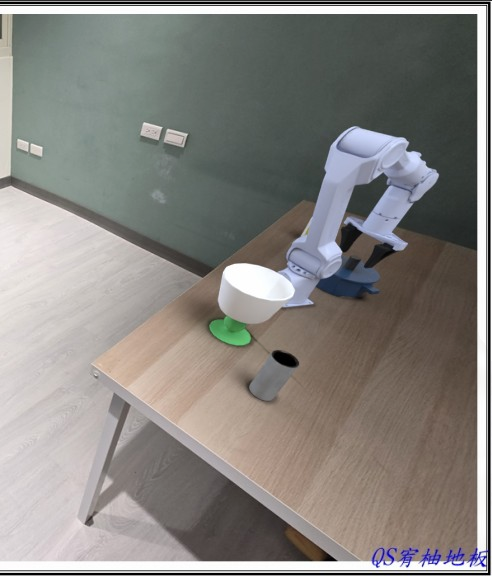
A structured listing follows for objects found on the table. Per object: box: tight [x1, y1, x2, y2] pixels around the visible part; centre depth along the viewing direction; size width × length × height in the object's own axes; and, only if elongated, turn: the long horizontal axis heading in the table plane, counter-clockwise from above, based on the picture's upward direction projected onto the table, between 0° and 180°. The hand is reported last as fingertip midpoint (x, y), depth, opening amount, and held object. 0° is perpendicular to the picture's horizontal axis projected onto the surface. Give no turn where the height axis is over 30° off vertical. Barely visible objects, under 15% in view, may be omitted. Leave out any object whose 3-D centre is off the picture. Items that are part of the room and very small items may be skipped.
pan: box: [315, 275, 381, 298], centre depth 105 cm, size 12×18×5 cm
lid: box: [333, 254, 381, 284], centre depth 102 cm, size 13×13×5 cm
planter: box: [248, 349, 300, 402], centre depth 74 cm, size 4×4×10 cm
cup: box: [208, 262, 295, 347], centre depth 86 cm, size 14×14×16 cm
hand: (354, 259), depth 101 cm, fingers open, 7 cm apart
